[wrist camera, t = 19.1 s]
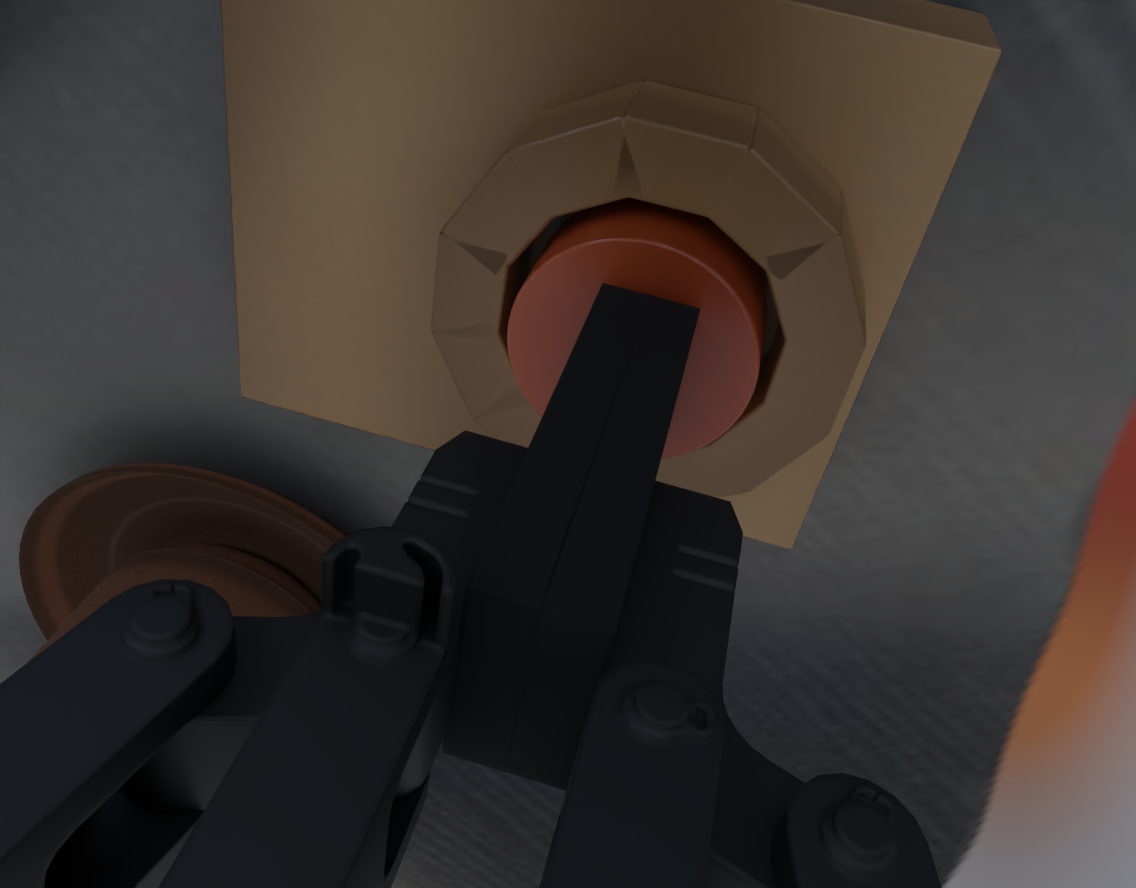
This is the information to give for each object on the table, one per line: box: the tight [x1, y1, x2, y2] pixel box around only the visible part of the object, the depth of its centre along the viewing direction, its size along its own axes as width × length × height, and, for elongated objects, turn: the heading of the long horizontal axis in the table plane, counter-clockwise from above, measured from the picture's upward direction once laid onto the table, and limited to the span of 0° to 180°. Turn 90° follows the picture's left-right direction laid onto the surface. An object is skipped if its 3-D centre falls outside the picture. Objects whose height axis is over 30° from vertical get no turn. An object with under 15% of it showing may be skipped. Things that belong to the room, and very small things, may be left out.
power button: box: [507, 198, 767, 459], centre depth 16 cm, size 4×4×2 cm
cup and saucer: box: [19, 463, 346, 662], centre depth 26 cm, size 12×12×6 cm
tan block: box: [221, 0, 1002, 549], centre depth 18 cm, size 12×10×4 cm
